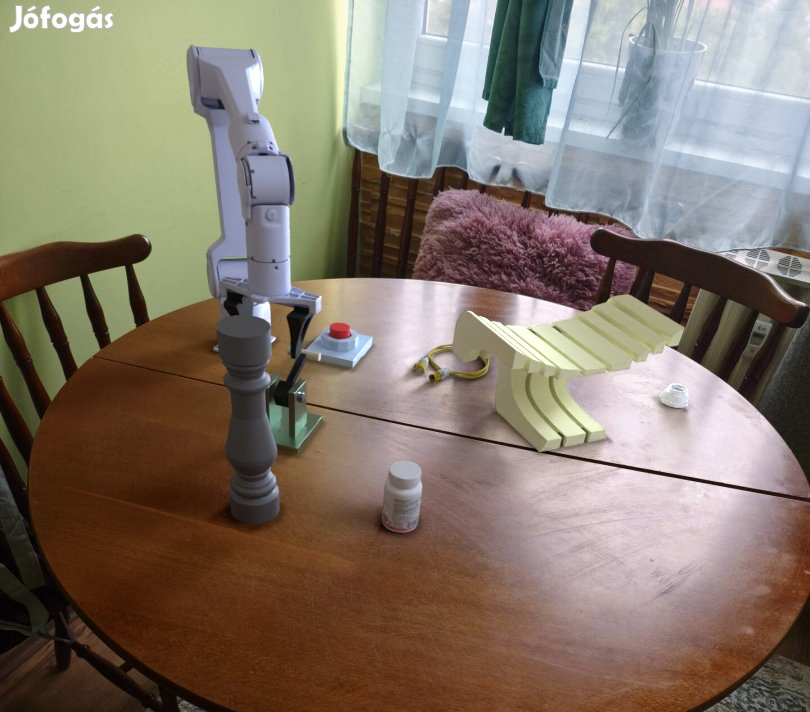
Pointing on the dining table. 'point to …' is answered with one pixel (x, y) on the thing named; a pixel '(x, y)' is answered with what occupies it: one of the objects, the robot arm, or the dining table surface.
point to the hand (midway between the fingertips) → (271, 350)
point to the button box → (341, 348)
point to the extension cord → (445, 372)
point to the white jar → (675, 396)
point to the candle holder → (249, 417)
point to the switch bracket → (290, 416)
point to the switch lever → (292, 377)
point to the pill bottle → (402, 497)
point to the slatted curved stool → (562, 363)
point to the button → (339, 331)
